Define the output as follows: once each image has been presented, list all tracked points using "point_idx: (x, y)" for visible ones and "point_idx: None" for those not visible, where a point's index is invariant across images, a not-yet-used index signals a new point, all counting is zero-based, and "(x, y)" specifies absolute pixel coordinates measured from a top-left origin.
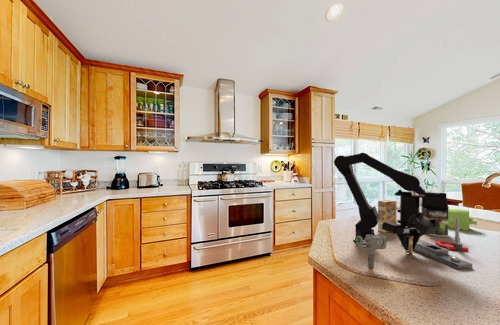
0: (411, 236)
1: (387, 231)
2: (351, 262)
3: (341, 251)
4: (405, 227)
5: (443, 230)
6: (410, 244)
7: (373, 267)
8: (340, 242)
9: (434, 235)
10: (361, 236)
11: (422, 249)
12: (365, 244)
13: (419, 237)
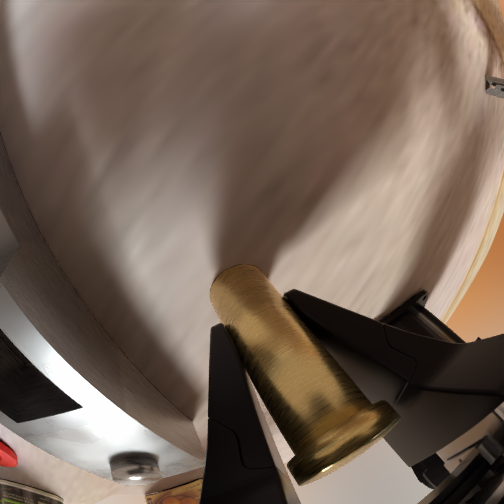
0: (379, 431)
1: (190, 486)
2: (500, 125)
3: (485, 211)
4: (497, 468)
5: (5, 500)
6: (303, 341)
7: (486, 76)
8: (446, 299)
9: (25, 486)
10: (449, 330)
11: (106, 365)
12: (414, 309)
13: (209, 491)
